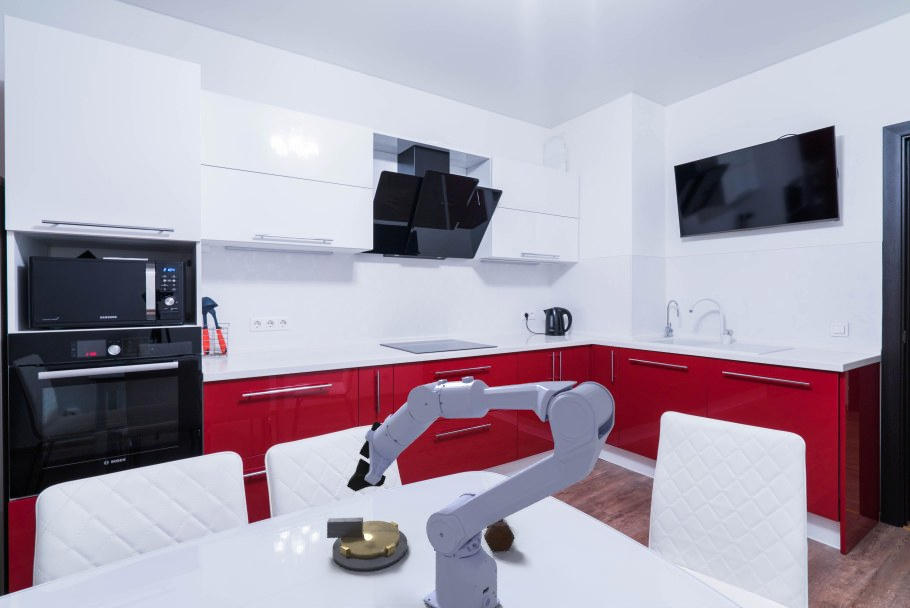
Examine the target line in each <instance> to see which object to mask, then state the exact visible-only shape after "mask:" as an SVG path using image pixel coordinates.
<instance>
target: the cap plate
mask: <svg viewBox="0 0 910 608" xmlns="http://www.w3.org/2000/svg"><path fill="white" fill-rule="evenodd" d="M399 533H400V536H399V544H398V546H397V547H396V552H395V553H393V554H392V555H390V556H387V555H383V556H380V557H376V558H368V559H362V558H355V557H351V556H349V557H347V558H346V557H344V556H343V555H341V554H340V546H341V538H336V540H335V541H334V542H333V545H332V558H333V559H332V560H333V561H334V563H335V564H336V565H337V566H339V567H340V568H342V569H344V570H347V571H351V572H358V573H368V572H369V573H370V572H372V573H373V572H377V571H381V570H384V569H388V568H391V567H392V566H394V565H396V564H397V563H399V562H400V561H401V560H403V559H404V558H405V556H406V554H407V552H408V538H407V536H406V535H405V534H404V532H402V531H401V530H399Z"/></svg>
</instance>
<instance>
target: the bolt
mask: <svg viewBox="0 0 910 608" xmlns="http://www.w3.org/2000/svg"><path fill="white" fill-rule="evenodd" d="M483 538H484V541H485V542H486V545H487V546H488V547H489V549H490V551H491V552H494V553H495V552H498V553H499V552H501V553H503V552H508V551H509V550H510V549H511V547H512V545H513V543H514V541H515V535H514V533H513V532H512V530H511V528H510V526H509V524H508V523H507V521H504V519H501V520H499V521H497V522H495V523H493V524H491V525H489V526H488V527H487V530H486V531H485V533H484V535H483Z"/></svg>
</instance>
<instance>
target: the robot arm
mask: <svg viewBox="0 0 910 608" xmlns="http://www.w3.org/2000/svg"><path fill="white" fill-rule="evenodd" d="M577 383H578V381H573V380H566V381H565V380H562V381H561V380H560V381H557V380H556V381H539V382H528V383H521V384H510V385H501V386H500V385H499V386H491V387H490V386H489V385H487V384H486V383H485V381H483V380H481V379H474V376H465V377H461V380H459V381H456V380H455V381H448V379H446V378H445V379H439V380H438V381H434V382H432V383H431V382H430V383H427V384H422V385H418V386H416V387H414V388H412V389H411V390H410V392H409V394H408V396H407V400H406V402H405V403H404V404H403V405H401V406H400V408H399V409H398V410H396V412H395V413H393V414H391V413H390V414H389V415H388V416H387V417H386V418H385V419H384V422H383V423H381V422H379V421H377V420H376V421H373V422H372V425H371V428H369V429H368V430H367V431H366V432H365V436H364V439H365V442H364V443H363V445H362V447H361V449H360V451H359V455H361V456H363V457H364V458H365V459H367V460H368V459H369V462H368V461H366V460H364V459H363V458H359V460H358V462H357V465H356V469H355V471H354V473H353V474H352V476H351V477H350V478H349V480H348V482H347V484H346V487H347V488H349V490H350V489H351V490H352V491H353V492H359V491H361V490H364V489H366V488H369V487H377V488H378V487H382V486H383V485H384V484H385V482H386V477H387V476H386V475H384V473H385V472H386V471H387V470H388V469H389V468H390V466H391V465H393V463H394V462H395V461H396V459H397V458H398V457H399V456H400V454H401V453H403V452H404V451H405V450H406V449H407V448H408V447H409V446H410V445H411V444H412V443H413V442H414V441H416V440H417V439H418V438H419V437H420V436H422V435H423V433H424V432H425V431H427V429H429V427H430V426H431V425H432V424H433V423H434V422H435V421H437V420H438V418H444V419H477V418H479V419H481V418H483V417H485V416H486V415H487V413H488V412H489V411H490V410H532V411H533V412H534V413H535V414H536V416H538V418H539V419H540V421H541V422H543V423H545V422H547V421H548V422H549V425H550V430H551V434H552V438H553V443H554V444H553V445H554V447H553V448H554V449H553V453H551V454H549V455H548V456H545V457H544V458H542V459H540V460H538V461H536V462H535V463H533V464H531V465H529V466H527V467H526V468H524V469H522V470H520V471H518V472H516V473H514V474H513V475H511V476H509V477H507V478H505V479H503V480H501V481H500V482H498V483H496V484H494V485H492V486H489V487H488V488H487V489H482V490H480V491H479V492H471V491H470V492H465V493H462V494H461V495H460V496H459V497H458V498H457V499H455V500H454V501H452V502H451V503H449V504H448V505H446V506H445V507H443V508H441V509H440V510H438V511H435V512H434V513H432V514H431V515H430V516H429V517H428V519H427V521H426V526H425V527H426V528H425V530H426V536H427V539H428V542H429V543H430V545H431V547H433V551H435V582H434V583H435V584H434V585H435V589H434V590H433V591H432V592H430V593H428V594H427V595H426V596H424V597H423V602H424V603H425V604H427V605H428V606H430V607H432V608H496V607H498V605H500V604H501V603H500V602H501V600H500V599H499V598H498V564H497V562H496V560H495V558H494V557H493V556H491V555H490V554H488V553H487V552H486V550H485V549H484V547H483V546H482V539H483V531H484V529H486V528H488V526H489V525H491V524H493V523H495V522H497V521H499V520H501V519H503V520H504V519H505V518H508V517H509V516H511V515H514V514H516V513H518V512H520V511H522V510H524V509H526V508H528V507H531V506H532V505H535V504H536V503H538V502H540V501H542V500H544V499H546V498H549V497H551V496H553V495H555V494H557V493H559V492H561V491H563V490H565V489H566V488H569V487H570V486H573V485H575V484H578V483H579V482H581V481H583V480H584V479H586V477H588V476H589V475H590V473H591V472H592V471H594V468H595V466H596V463H597V461H598V459H599V456H600V454H601V452H602V450H603V448H604V445H605V443H606V441H607V438H608V437H609V434H610V433H611V431H612V430H613V428H614V425H615V410H616V408H615V407H616V405H615V404H616V403H615V400H614V398H613V395H612V393H611V392H610V390H609V389H607V387H606V386H604V385H602V384H600V383H598V382H596V381H585V382H582V383H580V384H578V385H576V384H577ZM575 385H576V387H574V386H575ZM573 387H574V388H573Z"/></svg>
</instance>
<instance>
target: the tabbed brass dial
mask: <svg viewBox="0 0 910 608" xmlns="http://www.w3.org/2000/svg"><path fill="white" fill-rule="evenodd" d="M399 531H400V529H399V524H398V523H396V522H394V521H390V522H387V521H382V520H368V521H364V517H362V516H361V517H334V518H333V517H332V518H328V519H327V522H326V538H327V539H338V538H341V546H340V554H341V555H343V556H344V557H346V558H347V557H349V556H351V557H355V558H362V559H368V558H376V557H380V556H383V555H387V556H390V555H392V554H393V553H395V552H396V547H397V546H398V544H399V536H400V533H399Z"/></svg>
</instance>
